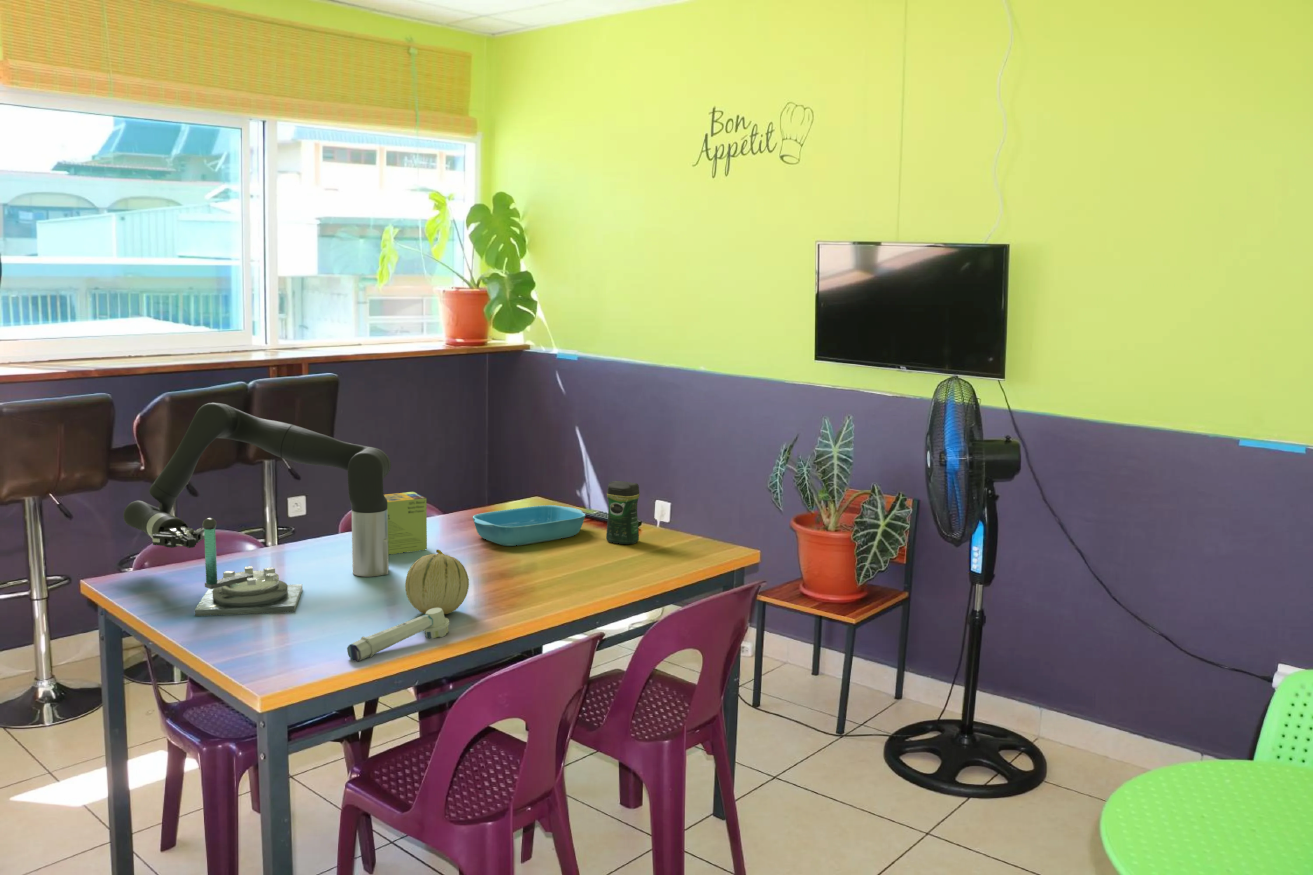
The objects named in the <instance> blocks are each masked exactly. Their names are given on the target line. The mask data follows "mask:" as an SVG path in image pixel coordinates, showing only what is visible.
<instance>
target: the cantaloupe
mask: <svg viewBox="0 0 1313 875" xmlns="http://www.w3.org/2000/svg"><path fill="white" fill-rule="evenodd" d="M407 571H408V572H407V574H406V577H405V578H406V579H405V584H404V587H405V594H406V598H407V599H408V601H409V602H410V604H411V606H412V607H413V608H415V609H416V610H417V611H419V612H420V613H421V614H423V615H425V614H426V612H427V611H428V610H429V609H432V608H442V610H443V612H444V615H448V614H451V613H453V612H455V611H456V610H457V609H458V608H460V607H461V605H462V604H463V603H464V601H465V599H466V597H467V595H468V592H469V588H470V582H469V581H470V580H469V576H468V572H467V570H466V568H465V566H464V564H463V563H462V562H461V561H460V560H458V559H457V558H455V557H454V556H452V555H448V554H445V553H443V551H442V550H440V549H436V553H430V554H426V555H423V556H421V557H420V558H418V559H417V560H416V561H414V563H413V564H412V565H411V566H410V568H409V570H407Z"/></svg>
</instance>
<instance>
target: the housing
mask: <svg viewBox="0 0 1313 875" xmlns="http://www.w3.org/2000/svg"><path fill="white" fill-rule="evenodd" d="M302 593H303V584H301V583H299V584H287V583H286V582H285V581H282V580H279V588H278V589H276V590H275V591H272V592H269V593H266V594H261V595H254V596H232V595H227V594H224V593H223V592H222V591H221V587H218V588H214V589H209V588H208V589H207V590H206V592H205V593H204V595H203V596H202V598H201V600H200V601H199V603H198V604H197V605H196V607H195V609H194V617H206V616H209V617H210V615H211V616H228V615H229V616H231V615H232V616H234V615H254V614H257V615H259V614H280V613H281V614H282V613H284V614H285V613H295V612H296V609H297V607H298V604H299V601H300V597H301V595H302Z"/></svg>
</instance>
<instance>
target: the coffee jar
mask: <svg viewBox="0 0 1313 875" xmlns="http://www.w3.org/2000/svg"><path fill="white" fill-rule="evenodd" d="M640 494H641V493H640V487H639V484H638V483H637V482H630V481H624V480H614V481H610V482H608V485H607V490H606V498H607V503H608V509H607V510H608V511H607V512H608V513H607V522H606V534H605V536H606V538H605V539H606V541H607V542H609V543H612V542H613V544H618V543H619V544H620V545H629V544H633V545H634V544H636V543H637V542H638V541H639V540H640V532H639V519H638V518H639V517H638V501H639V498H640ZM619 544H618V545H619Z"/></svg>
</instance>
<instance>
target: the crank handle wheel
mask: <svg viewBox="0 0 1313 875" xmlns="http://www.w3.org/2000/svg"><path fill="white" fill-rule="evenodd" d="M201 525H202V528H204V539H203V540H204V541H203V542H204V559H205V560H204V561H205V562H204V565H205V582H204V588H208V589H214V588H218V587H221V591H222V592H223V593H224V594H227V595H232V596H254V595H261V594H266V593H269V592H272V591H275V590H276V589H278V588H279V581H280V579H279V578H280V576H279V574H278V573H276V568H273V567H272V566H271V567H266V568H263V570H254V567H253V566H252V565H250V566H244V568H243V569H244V570H243V571H238V572H235V571H234V570H226V571H224V572H222V578H220V579H218V568H217V566H218V565H217V564H218V563H217V540H216V539H217V538H216V527H217V521H216V520H215V519H214V518H212V517H207V518H205V519H204V520H203V521H202V524H201Z"/></svg>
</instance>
